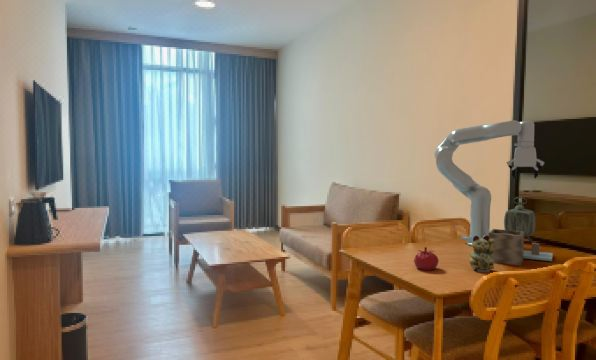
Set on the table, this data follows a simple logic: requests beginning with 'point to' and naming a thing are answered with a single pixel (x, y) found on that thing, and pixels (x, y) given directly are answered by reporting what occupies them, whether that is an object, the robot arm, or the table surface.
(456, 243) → the table surface
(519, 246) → the walnut box
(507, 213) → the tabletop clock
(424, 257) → the pomegranate
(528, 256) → the lid
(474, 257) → the decorative figurine
